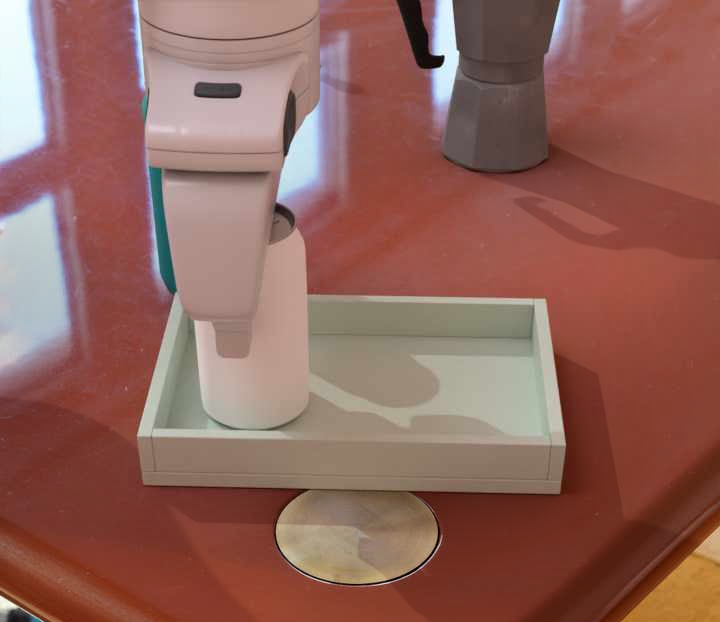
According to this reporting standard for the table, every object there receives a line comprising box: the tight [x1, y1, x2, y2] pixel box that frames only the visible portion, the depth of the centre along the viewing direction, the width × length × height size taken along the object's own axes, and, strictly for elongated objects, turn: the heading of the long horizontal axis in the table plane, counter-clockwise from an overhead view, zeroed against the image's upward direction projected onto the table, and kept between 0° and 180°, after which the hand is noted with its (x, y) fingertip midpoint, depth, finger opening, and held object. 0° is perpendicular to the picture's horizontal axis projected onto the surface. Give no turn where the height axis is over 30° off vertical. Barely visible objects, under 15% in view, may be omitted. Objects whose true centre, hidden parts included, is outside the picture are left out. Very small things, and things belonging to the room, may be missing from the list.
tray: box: [136, 292, 567, 495], centre depth 82 cm, size 24×16×4 cm, turn 88°
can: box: [194, 201, 309, 431], centre depth 78 cm, size 6×6×12 cm
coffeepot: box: [395, 0, 561, 174], centre depth 105 cm, size 15×9×18 cm, turn 108°
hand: (243, 305), depth 77 cm, fingers open, 8 cm apart
